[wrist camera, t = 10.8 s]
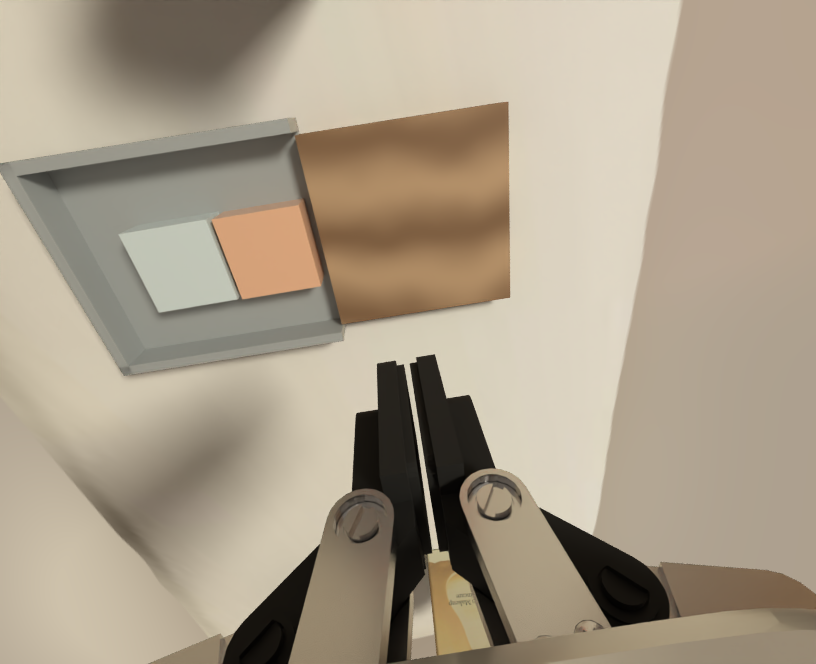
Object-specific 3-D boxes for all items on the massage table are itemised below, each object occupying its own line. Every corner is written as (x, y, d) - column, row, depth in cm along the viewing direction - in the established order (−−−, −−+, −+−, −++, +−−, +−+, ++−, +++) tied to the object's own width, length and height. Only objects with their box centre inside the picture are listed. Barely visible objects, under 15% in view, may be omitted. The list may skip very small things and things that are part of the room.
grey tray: (32, 159, 27) (-5, 164, 24) (295, 117, 27) (287, 118, 24) (142, 356, 34) (124, 375, 32) (345, 323, 34) (343, 340, 32)
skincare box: (472, 544, 52) (499, 655, 41) (472, 563, 54) (497, 674, 43) (424, 550, 51) (438, 663, 41) (425, 569, 54) (439, 682, 43)
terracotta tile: (223, 211, 29) (211, 219, 27) (304, 198, 29) (298, 205, 27) (251, 286, 32) (242, 299, 30) (324, 274, 32) (321, 286, 30)
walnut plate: (299, 134, 27) (294, 135, 25) (499, 102, 27) (508, 101, 25) (343, 313, 34) (341, 324, 32) (502, 288, 34) (510, 297, 32)
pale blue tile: (137, 225, 29) (118, 234, 27) (218, 211, 29) (205, 219, 27) (173, 299, 32) (158, 312, 29) (246, 286, 32) (237, 299, 29)
